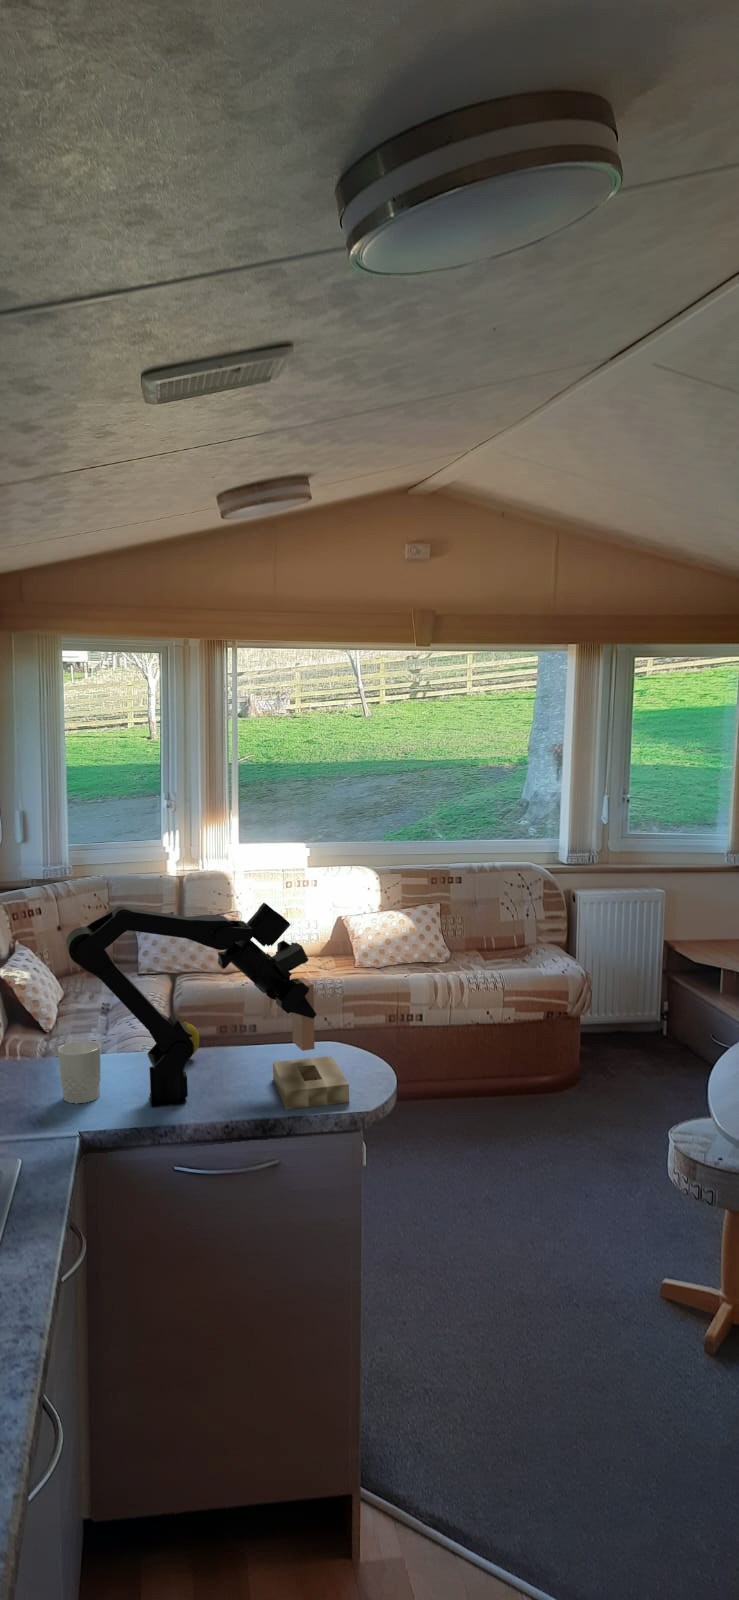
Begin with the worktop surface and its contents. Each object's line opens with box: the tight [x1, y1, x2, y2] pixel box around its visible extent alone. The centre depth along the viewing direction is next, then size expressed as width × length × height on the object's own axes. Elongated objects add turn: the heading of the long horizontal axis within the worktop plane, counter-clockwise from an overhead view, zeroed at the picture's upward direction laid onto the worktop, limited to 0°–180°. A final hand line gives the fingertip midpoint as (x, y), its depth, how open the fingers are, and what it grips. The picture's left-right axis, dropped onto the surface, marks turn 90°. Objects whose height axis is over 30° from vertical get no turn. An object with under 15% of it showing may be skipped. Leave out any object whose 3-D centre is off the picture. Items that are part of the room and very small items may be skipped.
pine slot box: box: [272, 1055, 350, 1110], centre depth 200 cm, size 12×16×4 cm
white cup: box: [57, 1040, 102, 1104], centre depth 198 cm, size 8×8×10 cm
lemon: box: [182, 1021, 200, 1056], centre depth 219 cm, size 6×6×8 cm
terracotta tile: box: [291, 976, 315, 1052], centre depth 206 cm, size 2×6×13 cm, turn 23°
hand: (309, 1012), depth 206 cm, fingers closed on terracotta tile, 6 cm apart
